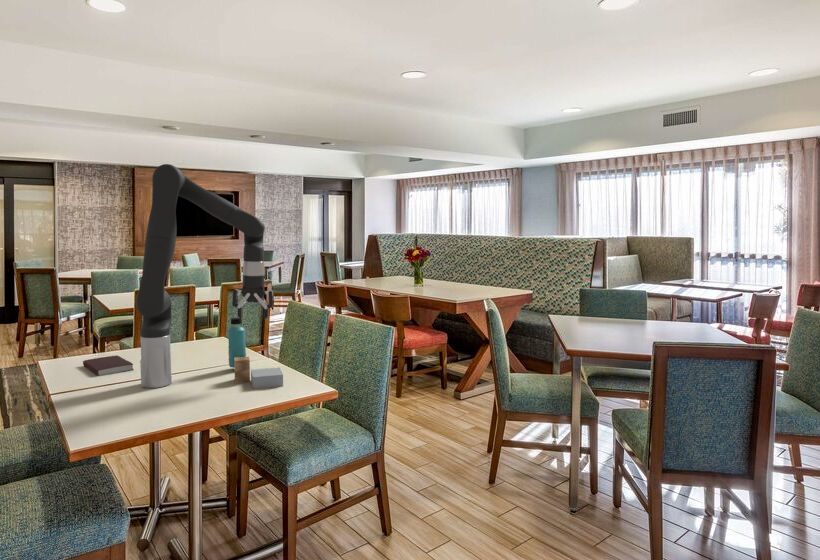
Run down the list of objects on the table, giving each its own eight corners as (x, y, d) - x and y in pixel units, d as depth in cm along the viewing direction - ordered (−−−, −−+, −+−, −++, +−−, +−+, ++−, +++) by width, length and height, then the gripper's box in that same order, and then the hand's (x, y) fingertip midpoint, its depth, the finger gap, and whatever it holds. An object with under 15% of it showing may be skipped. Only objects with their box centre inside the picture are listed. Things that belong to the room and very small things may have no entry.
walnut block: (235, 383, 190) (234, 360, 189) (234, 379, 194) (234, 357, 193) (250, 382, 191) (249, 359, 190) (249, 378, 196) (248, 356, 195)
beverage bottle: (241, 372, 204) (240, 319, 202) (225, 371, 205) (223, 318, 203) (249, 367, 210) (248, 316, 208) (234, 366, 211) (232, 316, 209)
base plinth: (253, 388, 183) (252, 377, 183) (251, 380, 193) (251, 369, 192) (283, 385, 187) (282, 374, 186) (279, 378, 196) (279, 367, 196)
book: (97, 377, 196) (96, 369, 196) (82, 367, 210) (82, 359, 209) (134, 371, 205) (133, 363, 204) (118, 362, 218) (117, 354, 218)
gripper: (230, 274, 188) (229, 320, 190) (271, 275, 189) (270, 321, 190) (236, 272, 196) (236, 316, 197) (276, 273, 196) (275, 317, 198)
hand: (253, 318), depth 194 cm, fingers open, 8 cm apart
